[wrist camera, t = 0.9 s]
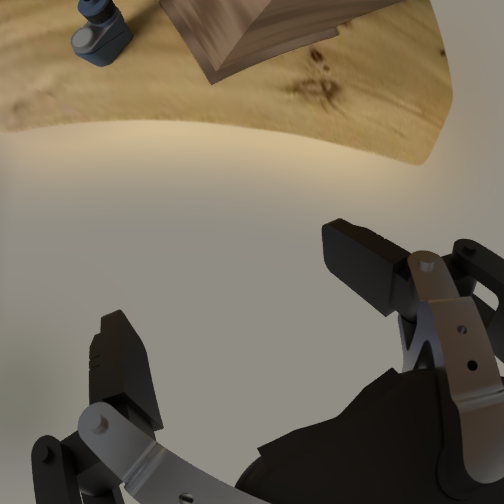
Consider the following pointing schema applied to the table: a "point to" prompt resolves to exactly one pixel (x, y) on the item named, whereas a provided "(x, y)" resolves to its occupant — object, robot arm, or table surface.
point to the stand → (257, 28)
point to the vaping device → (100, 32)
